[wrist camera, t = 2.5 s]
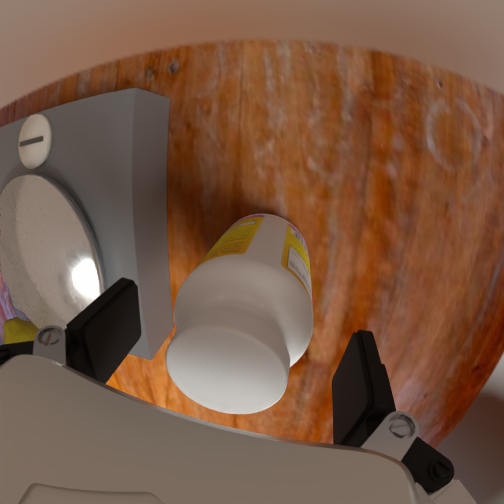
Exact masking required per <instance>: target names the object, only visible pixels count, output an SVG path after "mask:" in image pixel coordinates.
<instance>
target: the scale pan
mask: <svg viewBox="0 0 504 504" xmlns="http://www.w3.org/2000/svg"><path fill="white" fill-rule="evenodd" d="M0 268H1V271H2V274H3V277H4V279H5V282H6V284H7V286H8V288H9V290H10V292H11V294H12V296H13V298H14V299H15V301H16V302H17V304H18V306H19V307H20V308H21V310H22V311H23V312H24V314H25V315H26V316H27V317H28V318H29V320H30V321H31V322H32V323H33V324H34V325H35V326H36V327H37V328H39V329H41V328H43V327H45V326H49V325H56V326H59V327H61V328H62V329H63V330H65V329H66V328H67V326H66V325H67V324H68V323H69V322H70V321H71V320H72V319H73V318H74V317H76V316H77V315H78V314H79V313H80V312H81V311H82V310H84V309H85V308H86V307H87V306H88V305H89V304H90V303H92V302H93V301H94V300H95V299H96V298H97V297H99V296H100V295H101V294H102V293H103V292H104V291H106V290H107V284H106V276H105V271H104V266H103V262H102V258H101V255H100V251H99V248H98V246H97V243H96V240H95V237H94V235H93V233H92V231H91V228H90V226H89V224H88V222H87V220H86V218H85V216H84V215H83V213H82V211H81V210H80V208H79V206H78V205H77V203H76V202H75V200H74V199H73V198H72V197H71V196H70V194H69V193H68V192H67V191H66V190H65V189H64V188H63V187H62V186H61V185H60V184H59V183H57V182H56V181H55V180H53V179H52V178H50V177H48V176H46V175H42V174H28V175H23V176H19V177H16V178H15V179H13V180H11V181H10V182H9V183H8V184H7V185H6V187H5V188H4V190H3V191H2V193H1V195H0Z"/></svg>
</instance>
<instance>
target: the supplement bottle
mask: <svg viewBox="0 0 504 504" xmlns="http://www.w3.org/2000/svg"><path fill="white" fill-rule="evenodd" d="M174 317H175V324H176V328H177V331H176V333H175V335H174V337H173V338H172V340H171V342H170V344H169V346H168V348H167V351H166V365H167V369H168V372H169V375H170V377H171V379H172V380H173V382H174V383H175V384H176V386H177V387H178V388H179V389H180V390H181V391H182V392H183V393H184V394H185V395H187V396H188V397H189V398H191V399H192V400H194V401H195V402H197V403H199V404H200V405H202V406H205V407H207V408H210V409H213V410H216V411H219V412H224V413H231V414H250V413H255V412H259V411H262V410H264V409H267V408H269V407H271V406H272V405H274V404H275V403H276V402H277V401H278V400H279V399H280V398H281V397H282V395H283V394H284V392H285V390H286V386H287V382H288V374H289V369H290V367H291V366H292V365H293V364H294V363H296V362H297V361H298V359H299V358H300V357H301V356H302V355H303V353H304V352H305V350H306V348H307V347H308V344H309V342H310V339H311V336H312V331H313V307H312V292H311V277H310V263H309V254H308V249H307V245H306V243H305V240H304V238H303V236H302V235H301V233H300V232H299V231H298V229H297V228H296V227H295V226H294V225H292V224H291V223H290V222H288V221H287V220H285V219H283V218H281V217H279V216H276V215H272V214H253V215H249V216H246V217H244V218H242V219H240V220H238V221H237V222H235V223H234V224H233V225H232V226H231V227H230V228H229V229H228V230H227V231H226V232H225V233H224V234H223V236H222V237H221V238H220V239H219V240H218V241H217V243H216V244H215V245H214V246H213V247H212V248H211V250H210V251H209V252H208V253H207V254H206V256H205V257H204V258H203V259H202V260H201V262H200V263H199V264H198V265H197V266H196V267H195V269H194V270H193V271H192V272H191V273H190V275H189V276H188V277H187V278H186V280H185V281H184V282H183V284H182V286H181V287H180V289H179V292H178V294H177V297H176V302H175V309H174Z"/></svg>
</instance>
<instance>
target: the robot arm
mask: <svg viewBox="0 0 504 504" xmlns="http://www.w3.org/2000/svg"><path fill="white" fill-rule="evenodd" d="M66 326H67V328H66V329H65V330H63V329H62V328H61V327H59V326H56V325H49V326H45V327H43V328H41V329H40V330H38V332H37V333H36V334H35V338H34V340H33V341H25V342H18V343H10V344H4V345H1V346H0V504H477V503H476V502H475V501H474V499H473V498H472V497H471V495H470V494H469V493H468V491H467V490H466V489H465V487H464V486H463V485H462V484H461V482H460V481H459V480H458V479H457V480H456V481H455V480H454V479H453V476H454V467H453V465H452V463H451V461H450V460H449V459H447V458H446V457H445V456H443V455H442V454H441V453H439V452H438V451H436V450H435V449H434V448H432V447H431V446H430V445H428V444H427V443H425V442H424V441H423V440H421V439H420V438H419V437H417V434H418V432H419V426H418V424H417V421H416V420H415V419H414V417H412V416H411V415H410V414H408V413H406V412H402V411H396V408H395V403H394V399H393V395H392V391H391V387H390V383H389V379H388V375H387V371H386V368H385V365H384V364H381V361H380V357H379V353H378V350H377V346H376V343H375V339H374V336H373V333H372V332H371V331H364V330H358V332H357V333H355V332H354V333H353V334H352V336H351V339H350V341H349V343H348V346H347V348H346V350H345V353H344V355H343V357H342V359H341V361H340V364H339V366H338V368H337V370H336V372H335V374H334V376H333V379H332V400H333V442H334V444H326V443H317V442H309V441H301V440H294V439H288V438H281V437H275V436H269V435H264V434H259V433H254V432H249V431H244V430H240V429H235V428H231V427H227V426H223V425H219V424H215V423H211V422H208V421H204V420H201V419H197V418H194V417H191V416H187V415H184V414H181V413H178V412H175V411H172V410H169V409H166V408H163V407H160V406H157V405H155V404H152V403H149V402H147V401H144V400H141V399H139V398H136V397H134V396H131V395H129V394H127V393H124V392H122V391H119V390H117V389H115V388H113V387H110V386H108V385H106V382H107V381H108V380H109V378H110V377H111V376H112V374H113V373H114V372H115V370H116V369H117V368H118V366H119V365H120V364H121V362H122V361H123V360H124V358H125V357H126V356H127V355H128V353H129V352H130V351H131V349H132V348H133V347H134V346H135V344H136V343H137V342H138V340H139V339H140V337H141V333H142V331H141V321H140V310H139V297H138V286H137V285H136V284H135V282H134V281H133V280H131V279H127V278H124V277H122V278H120V279H119V280H118V281H116V282H115V283H114V284H113V285H112V286H110V287H109V288H108V289H107V290H106V291H104V292H103V293H102V294H101V295H100V296H99V297H97V298H96V299H95V300H94V301H93V302H92V303H90V304H89V305H88V306H87V307H86V308H85V309H84V310H82V311H81V312H80V313H79V314H78V315H77V316H76V317H74V318H73V319H72V320H71V321H70V322H69V323H68V324H67V325H66Z"/></svg>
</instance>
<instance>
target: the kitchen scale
mask: <svg viewBox="0 0 504 504" xmlns="http://www.w3.org/2000/svg"><path fill="white" fill-rule="evenodd" d="M169 108H170V98H167V97H164V96H161V95H158V94H155V93H152V92H149V91H146V90H142V89H139V88H130V89H125V90H119V91H114V92H109V93H105V94H100V95H96V96H92V97H88V98H84V99H80V100H76V101H73V102H69V103H66V104H62V105H59V106H56V107H53V108H50V109H47V110H44V111H41V112H38V113H35V114H32V115H30V116H27V117H24V118H22V119H19V120H17V121H14V122H12V123H9V124H7V125H5V126H2V127H0V195H1V193H2V191H3V190H4V188H5V187H6V185H7V184H8V183H9V182H10V181H11V180H13V179H15V178H16V177H19V176H23V175H28V174H42V175H46V176H48V177H50V178H52V179H53V180H55V181H56V182H57V183H59V184H60V185H61V186H62V187H63V188H64V189H65V190H66V191H67V192H68V193H69V194H70V196H71V197H72V198H73V199H74V200H75V202H76V203H77V205H78V206H79V208H80V210H81V211H82V213H83V215H84V216H85V218H86V220H87V222H88V224H89V226H90V228H91V231H92V233H93V235H94V237H95V240H96V243H97V246H98V248H99V251H100V255H101V258H102V262H103V266H104V271H105V276H106V284H107V289H108V288H109V287H110V286H112V285H113V284H114V283H115V282H116V281H118V280H119V279H120V278H122V277H124V278H127V279H131V280H133V281H134V282H135V284H136V285H137V286H138V297H139V310H140V321H141V331H142V333H141V337H140V339H139V340H138V342H137V343H136V344H135V346H134V347H133V348H132V349H131V351H130V352H129V353H128V354H132V355H135V356H138V357H142V358H145V359H149V360H152V359H153V357H154V356H155V354H156V353H157V351H158V350H159V348H160V347H161V346H162V344H163V343H164V341H165V340H166V338H167V337H168V335H169V334H170V332H171V331H172V329H173V328H174V323H173V313H172V302H171V289H170V275H169V258H168V235H167V147H168V124H169ZM8 290H9V288H8ZM9 293H10V296H11V300H12V303H13V306H14V308H15V309H17V310H19V311H21V312H23V311H22V310H21V308H20V307H19V306H18V304H17V302H16V301H15V299H14V298H13V296H12V294H11V292H10V290H9ZM23 313H24V312H23Z"/></svg>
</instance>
